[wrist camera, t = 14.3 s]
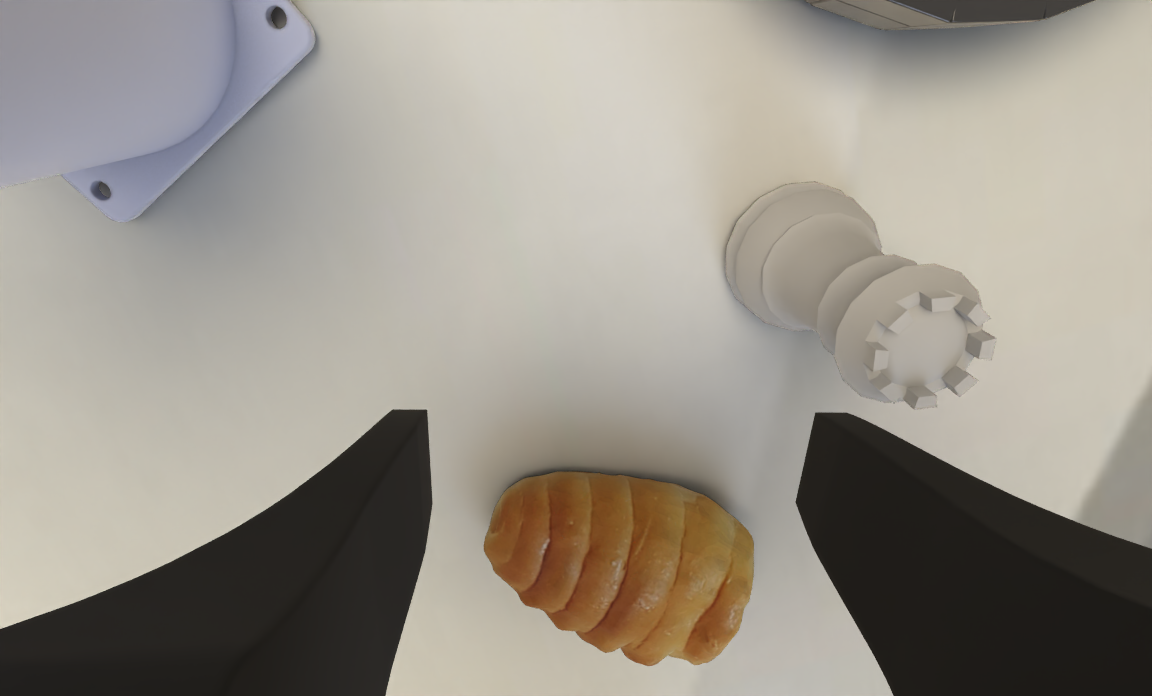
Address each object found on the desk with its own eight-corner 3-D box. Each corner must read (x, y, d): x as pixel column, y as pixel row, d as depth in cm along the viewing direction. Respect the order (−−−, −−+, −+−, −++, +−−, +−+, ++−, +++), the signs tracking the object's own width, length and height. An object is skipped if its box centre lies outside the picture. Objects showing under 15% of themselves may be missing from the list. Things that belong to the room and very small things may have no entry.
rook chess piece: (816, 147, 19) (993, 199, 12) (884, 260, 21) (1076, 367, 13) (693, 240, 20) (785, 341, 13) (766, 341, 22) (886, 484, 14)
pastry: (463, 566, 25) (452, 648, 21) (526, 423, 22) (525, 488, 19) (679, 625, 27) (702, 709, 23) (758, 499, 24) (797, 571, 21)
